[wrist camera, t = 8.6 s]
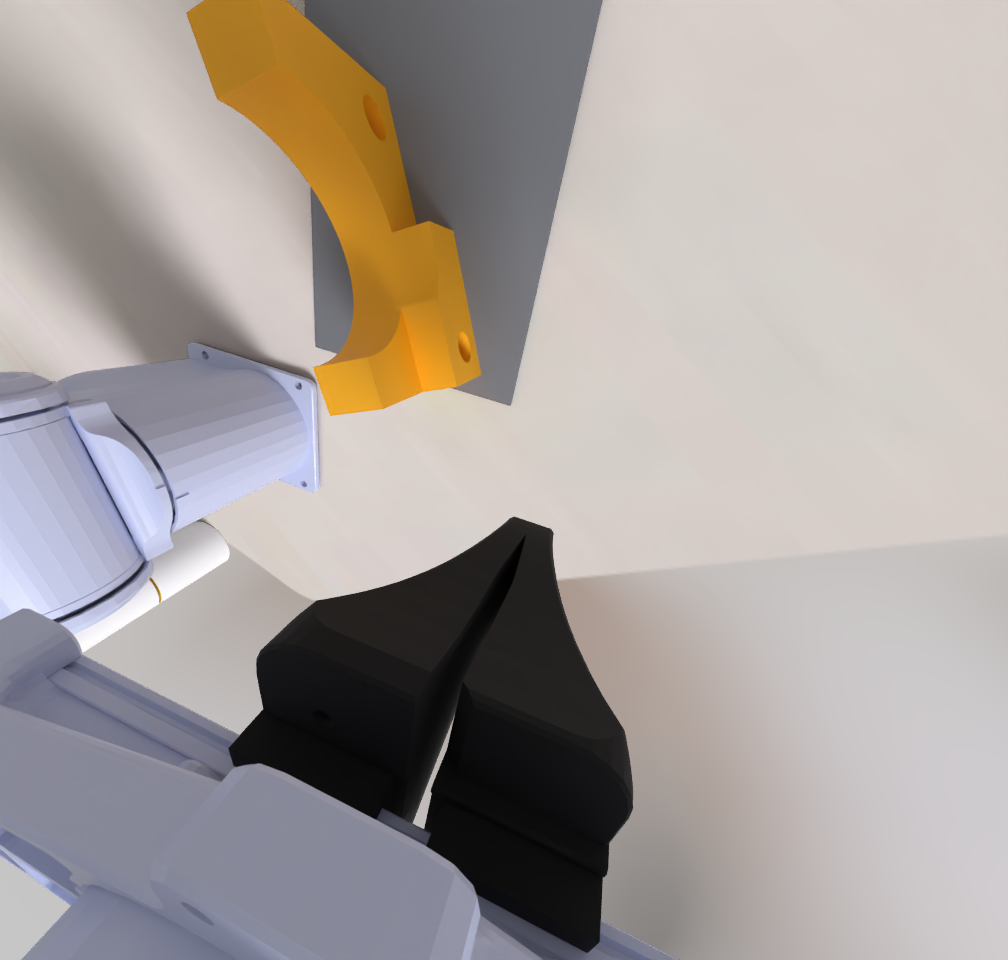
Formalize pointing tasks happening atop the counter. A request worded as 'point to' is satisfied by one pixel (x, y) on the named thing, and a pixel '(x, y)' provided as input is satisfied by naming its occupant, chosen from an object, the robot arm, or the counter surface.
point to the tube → (165, 577)
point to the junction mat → (467, 148)
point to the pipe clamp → (348, 199)
